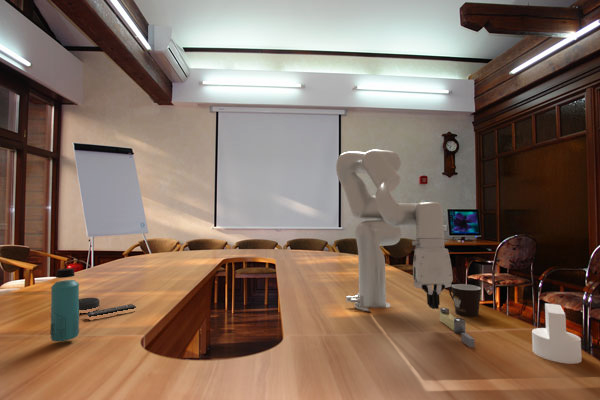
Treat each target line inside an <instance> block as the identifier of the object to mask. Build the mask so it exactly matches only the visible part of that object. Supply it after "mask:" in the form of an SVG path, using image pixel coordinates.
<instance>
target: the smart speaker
mask: <svg viewBox="0 0 600 400" xmlns="http://www.w3.org/2000/svg"><path fill="white" fill-rule="evenodd" d="M79 305H80V306H79V307H80V308H79V310H87V309H92V308H96V307H98V306H99V307H100V299H99V298H98V297H85V298H79Z"/></svg>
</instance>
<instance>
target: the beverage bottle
mask: <svg viewBox="0 0 600 400" xmlns="http://www.w3.org/2000/svg"><path fill="white" fill-rule="evenodd" d="M73 277H75V270H74V268H71V267H69V268H66V267H65V268H58V269H57V270H56V274H55V278H56V279H63V280H59V281H56V282H55V283H54V284H52V286H50V289H51V300H50V301H51V302H50V312H49V313H50V331H49V332H50V339H51V341H52V342H64V341H69V340H72V339H75V338H77V337H78V336H79V334H80V327H79V326H80V315H81V314H79V308H80V307H79V306H80V305H79V299H80V296H79V295H80V291H79V290H80V287H79V286H80V283H79V282H77V281H76V280H74V279H65V280H64V278H73Z"/></svg>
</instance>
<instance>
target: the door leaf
mask: <svg viewBox="0 0 600 400" xmlns="http://www.w3.org/2000/svg"><path fill="white" fill-rule="evenodd" d="M460 335H461V342H462V343H464V344H465V345H466V346H467V347H468V348H475V347H476V346H475V345H476V344H475V338H474V337H472V336H471V335H470V334H468V333H467V332H465V333H461V334H460Z"/></svg>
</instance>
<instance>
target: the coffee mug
mask: <svg viewBox="0 0 600 400" xmlns="http://www.w3.org/2000/svg"><path fill="white" fill-rule="evenodd" d="M481 291H482V287H480V286H477V285H473V284H465V283H460V284H459V283H457V284H452V285H451V286H450V287H449V291H448V292H449V296H450V298H451V299H452V302H453V305H454V312H455V314H456V315H457V316H461V317H467V318H475V317H479V312H480V300H481V294H482V293H481Z"/></svg>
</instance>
